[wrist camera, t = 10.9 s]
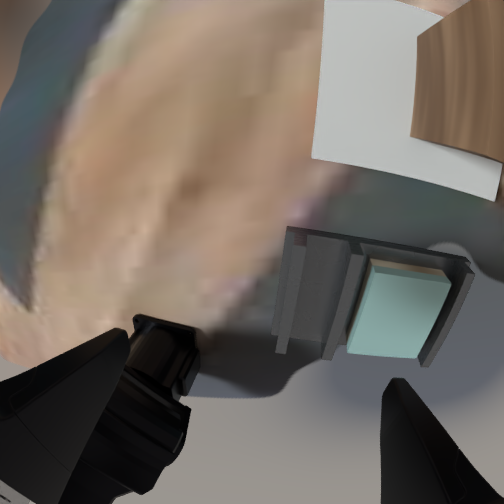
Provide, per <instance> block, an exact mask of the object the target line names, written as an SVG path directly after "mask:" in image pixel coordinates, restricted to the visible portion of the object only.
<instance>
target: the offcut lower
mask: <svg viewBox="0 0 504 504" xmlns="http://www.w3.org/2000/svg"><path fill="white" fill-rule="evenodd" d="M372 265H375V266H381V267H388V268H394V269H400V270H407V271H413V272H420V273H426V274H432V275H438V276H445V277H446V275H445V274H444V272H443V271H442V270H438V269H432V268H426V267H420V266H414V265H408V264H402V263H396V262H389V261H383V260H377V259H371V258H370V260H369V263H368V267H367V271H366V274H365V278H364V281H363V284H362V288H361V291H360V294H359V298H358V301H357V304H356V307H355V310H354V313H353V316H352V319H351V322H350V325H349V328H348V331H347V334H346V344H347V342H348V339H349V336H350V333H351V331H352V328H353V325H354V322H355V319H356V316H357V313H358V310H359V307H360V304H361V301H362V298H363V295H364V292H365V289H366V285H367V282H368V279H369V275H370V272H371V268H372Z"/></svg>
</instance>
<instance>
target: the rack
mask: <svg viewBox="0 0 504 504" xmlns="http://www.w3.org/2000/svg"><path fill="white" fill-rule="evenodd" d="M370 258H371V259H377V260H383V261H389V262H396V263H402V264H408V265H414V266H420V267H426V268H432V269H438V270H442V271H443V272H444V274H445V275H446V277H447V278H448V279H449V281H450V282H451V287H450V289H449V292H448V294H447V296H446V299H445V301H444V303H443V306H442V308H441V310H440V312H439V314H438V316H437V319H436V321H435V323H434V325H433V327H432V329H431V331H430V333H429V335H428V337H427V339H426V341H425V343H424V344H423V346H422V348H421V350H420V352H419V354H418V359H419V362H420V365H421V367H429V366H430V364H431V363H432V361H433V359H434V358H435V356H436V354H437V352H438V351H439V349H440V347H441V345H442V344H443V342H444V340H445V338H446V336H447V334H448V333H449V331H450V329H451V327H452V325H453V323H454V321H455V319H456V317H457V315H458V313H459V311H460V309H461V306H462V304H463V302H464V300H465V297H466V295H467V293H468V291H469V288H470V286H471V284H472V281H473V279H474V277H475V273H474V272H473V271H472V270H471V269H470V268H469V266H470V264H471V262H470V261H469V260H468V259H467V258H466V257H463V256H458V255H453V254H447V253H442V252H438V251H432V250H427V249H422V248H416V247H411V246H405V245H400V244H394V243H389V242H383V241H377V240H371V239H365V238H359V237H353V236H347V235H341V234H335V233H329V232H322V231H316V230H309V229H303V228H296V227H289V226H287V229H286V235H285V243H284V250H283V257H282V264H281V271H280V278H279V285H278V292H277V299H276V305H275V312H274V318H273V325H272V331H271V335H276V336H278V340H277V345H276V351H275V353H280V354H286V350H287V345H288V341H289V338H295V339H302V340H309V341H317V342H322V349H321V359H323V360H332V358H333V355H334V352H335V349H336V347H337V344H340V345H347V344H346V334H347V331H348V328H349V325H350V322H351V319H352V316H353V313H354V310H355V307H356V304H357V301H358V298H359V294H360V291H361V288H362V284H363V281H364V278H365V274H366V271H367V267H368V263H369V260H370Z"/></svg>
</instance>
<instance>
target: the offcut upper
mask: <svg viewBox="0 0 504 504" xmlns="http://www.w3.org/2000/svg"><path fill="white" fill-rule="evenodd" d="M450 287H451V282H450V281H449V279H448V278H447V277H445V276H438V275H432V274H426V273H420V272H413V271H407V270H400V269H394V268H388V267H381V266H375V265H372V268H371V272H370V275H369V279H368V282H367V285H366V289H365V292H364V295H363V298H362V301H361V304H360V307H359V310H358V313H357V316H356V319H355V322H354V325H353V328H352V331H351V333H350V336H349V339H348V342H347V352H348V353H353V354H364V355H375V356H387V357H401V358H416V357H417V356H418V354H419V352H420V350H421V348H422V346H423V344H424V343H425V341H426V339H427V337H428V335H429V333H430V331H431V329H432V327H433V325H434V323H435V321H436V319H437V316H438V314H439V312H440V310H441V308H442V306H443V303H444V301H445V299H446V296H447V294H448V292H449V289H450Z"/></svg>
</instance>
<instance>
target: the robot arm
mask: <svg viewBox="0 0 504 504" xmlns="http://www.w3.org/2000/svg"><path fill="white" fill-rule="evenodd" d="M137 319H138V320H137ZM133 324H134V329H135V331H134V333H133V334H132V335H131V337H130V338H128V334H127V332H126V330H123V329H120V328H113V329H111V330H109V331H107V332H105V333H103V334H101V335H99V336H97V337H95V338H93V339H91V340H89V341H87V342H85V343H83V344H81V345H79V346H77V347H75V348H73V349H71V350H69V351H67V352H65V353H63V354H60V355H58V356H56V357H54V358H52V359H50V360H48V361H46V362H44V363H42V364H40V365H38V366H37V367H34V368H32V369H30V370H28V371H26V372H23V373H21V374H19V375H16V376H14V377H11V378H9V379H6V380H4V381H1V382H0V504H28V503H29V502H30V500H31V501H32V502H34V503H36V504H112V503H113V501H114V500H115V499H116V498H117V497H120V496H123V495H125V494H128V493H131V492H133V491H134V492H136V493H138V494H139V495H143V494H145V493H146V492H148V491H150V490H151V489H153V487H154V485H155V483H156V481H157V479H158V478H159V476H160V474H161V472H162V471H163V469H164V468H165V467H166V466H169V465H170V464H171V463H173V461H174V460H175V459H176V458H177V457H178V455H179V454H180V452H181V450H182V448H183V446H184V443H185V440H186V434H187V428H188V423H189V419H190V413H191V408H189V407H188V406H184V405H183V404H181V403H180V402H179V399H180V397H181V396H187V395H188V393H189V391H190V389H191V386H192V384H193V382H194V380H195V377H196V375H197V373H198V371H199V368H200V356H199V350H198V348H197V345H196V332H195V330H194V329H192V328H190V327H185V326H181V325H177V324H173V323H168V322H164V321H160V320H157V319H153V318H149V317H145V316H141V315H137V314H136V315H135V316H134V317H133ZM190 333H191V334H190ZM458 448H459V447H458V446H457V445H456V443H455V442H454V441H453V439H452V438H451V437H450V435H449V434H448V433H447V431H446V430H445V429H444V427H443V426H442V425H441V424H440V422H439V421H438V420H437V419H436V417H435V416H434V415H433V414H432V412H431V411H430V410H429V408H428V407H427V406H426V405H425V403H424V402H423V401H422V400H421V398H420V397H419V396H418V395H417V393H416V392H415V391H414V389H413V388H412V387H411V386H410V385H409V383H408V382H407V381H406V380H405V379H404V378H392V379H391V381H390V382H389V384H388V386H387V387H386V389H385V391H384V392H383V396H382V409H381V430H380V449H381V450H380V451H381V504H504V498H503V497H502V496H500V495H499V494H498V493H497V492H496V491H495V490H494V489H493V488H492V487H491V486H490V484H489V483H488V482H487V481H486V480H485V479H484V478H483V477H482V476H481V475H480V473H479V472H478V471H477V470H476V469H475V468H474V466H473V465H472V464H471V463H470V461H469V460H468V459H467V458H466V456H465V455H464V454H463V452H462V451H461V450H460V449H458Z"/></svg>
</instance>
